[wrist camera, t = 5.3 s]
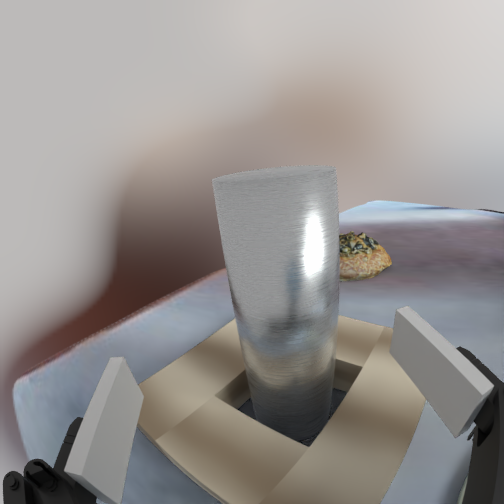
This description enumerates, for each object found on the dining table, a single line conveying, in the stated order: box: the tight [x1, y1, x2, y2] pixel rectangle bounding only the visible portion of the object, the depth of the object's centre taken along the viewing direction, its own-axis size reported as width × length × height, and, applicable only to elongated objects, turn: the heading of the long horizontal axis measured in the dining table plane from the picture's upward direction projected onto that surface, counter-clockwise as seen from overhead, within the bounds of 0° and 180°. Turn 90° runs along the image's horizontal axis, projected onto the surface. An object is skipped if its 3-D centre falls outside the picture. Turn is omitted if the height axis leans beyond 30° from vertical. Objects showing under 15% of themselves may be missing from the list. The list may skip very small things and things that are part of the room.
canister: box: [212, 165, 340, 441], centre depth 13 cm, size 5×5×15 cm
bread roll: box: [339, 231, 392, 282], centre depth 36 cm, size 11×11×5 cm
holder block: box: [137, 315, 426, 504], centre depth 16 cm, size 16×16×3 cm
